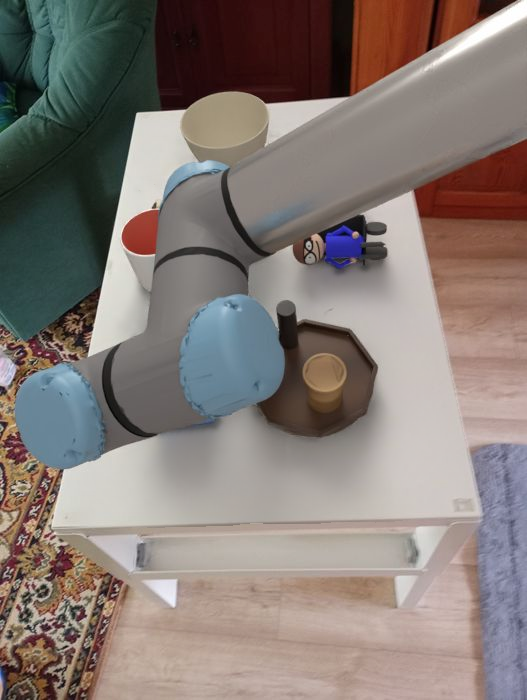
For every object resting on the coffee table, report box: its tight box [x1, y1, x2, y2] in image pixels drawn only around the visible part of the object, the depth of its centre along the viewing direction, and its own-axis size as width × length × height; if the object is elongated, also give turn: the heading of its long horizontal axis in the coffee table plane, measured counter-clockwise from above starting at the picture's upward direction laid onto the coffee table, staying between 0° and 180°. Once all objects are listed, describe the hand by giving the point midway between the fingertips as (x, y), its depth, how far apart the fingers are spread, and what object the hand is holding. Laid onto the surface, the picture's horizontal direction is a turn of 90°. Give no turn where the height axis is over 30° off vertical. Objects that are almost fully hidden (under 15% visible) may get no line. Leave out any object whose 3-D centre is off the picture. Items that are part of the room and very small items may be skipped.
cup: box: [119, 208, 159, 293], centre depth 81 cm, size 10×10×10 cm
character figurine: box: [292, 214, 389, 270], centre depth 80 cm, size 8×7×15 cm
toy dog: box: [151, 199, 163, 209], centre depth 90 cm, size 4×5×5 cm
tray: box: [255, 299, 379, 439], centre depth 67 cm, size 17×17×9 cm
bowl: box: [179, 91, 270, 167], centre depth 94 cm, size 16×16×10 cm
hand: (272, 340), depth 70 cm, fingers closed
